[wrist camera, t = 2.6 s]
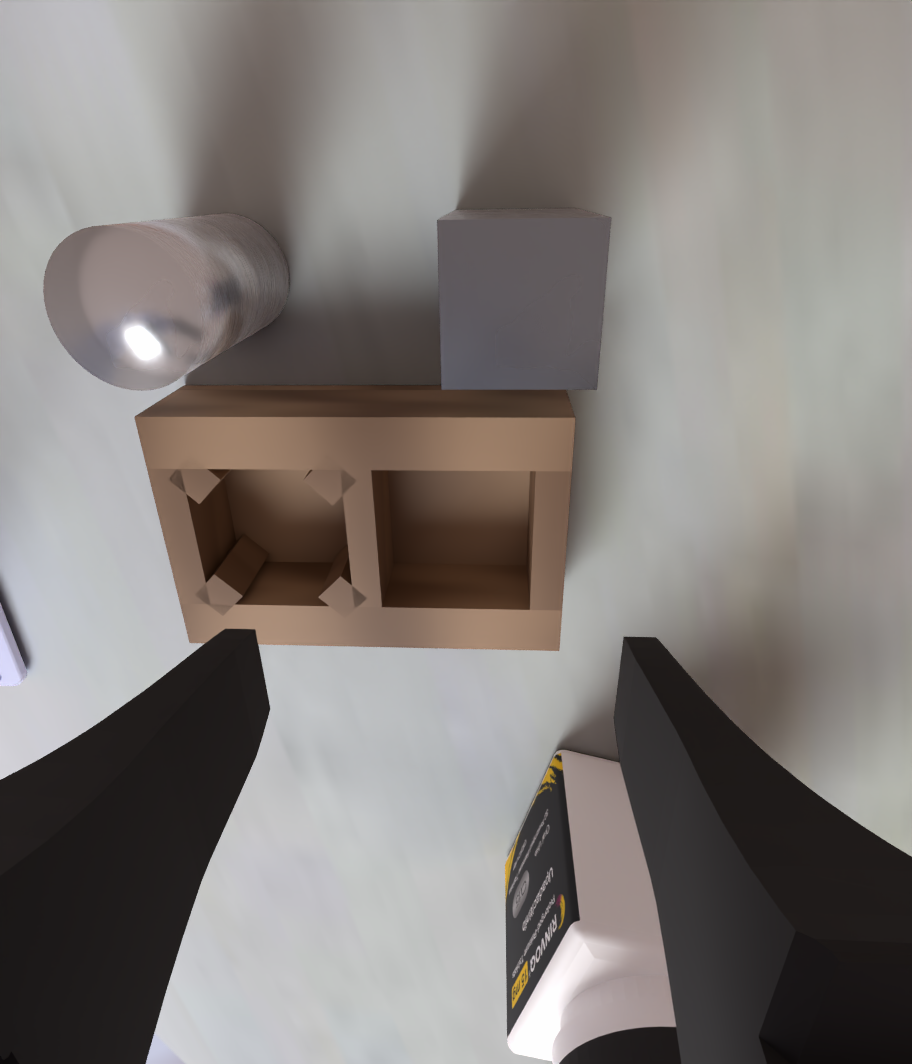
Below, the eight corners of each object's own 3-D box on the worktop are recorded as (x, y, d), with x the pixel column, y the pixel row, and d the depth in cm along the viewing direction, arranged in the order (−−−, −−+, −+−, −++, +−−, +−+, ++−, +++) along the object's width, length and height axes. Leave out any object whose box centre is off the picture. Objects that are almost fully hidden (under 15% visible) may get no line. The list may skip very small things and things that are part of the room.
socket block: (226, 589, 23) (189, 643, 20) (183, 385, 19) (134, 417, 17) (551, 594, 22) (559, 650, 19) (564, 385, 19) (575, 417, 16)
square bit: (457, 330, 18) (441, 389, 13) (455, 209, 17) (437, 219, 12) (567, 330, 18) (597, 389, 13) (575, 207, 17) (610, 217, 11)
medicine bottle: (555, 742, 25) (599, 1153, 14) (734, 784, 26) (904, 1212, 15) (502, 861, 28) (506, 1268, 18) (661, 897, 29) (757, 1313, 18)
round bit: (191, 332, 19) (69, 390, 13) (168, 213, 17) (22, 226, 12) (296, 331, 19) (215, 390, 13) (281, 212, 17) (184, 224, 12)
